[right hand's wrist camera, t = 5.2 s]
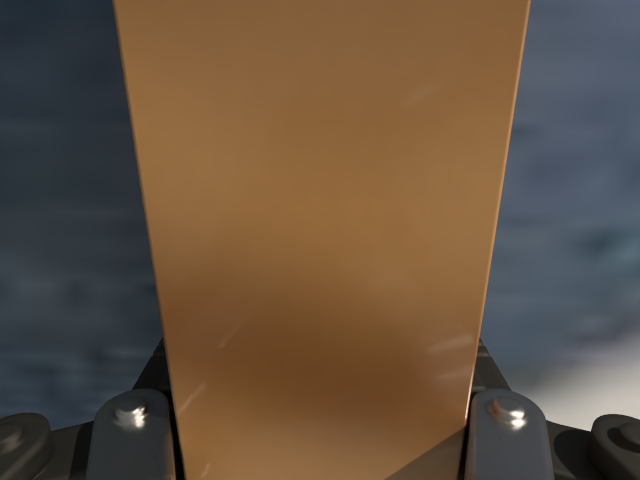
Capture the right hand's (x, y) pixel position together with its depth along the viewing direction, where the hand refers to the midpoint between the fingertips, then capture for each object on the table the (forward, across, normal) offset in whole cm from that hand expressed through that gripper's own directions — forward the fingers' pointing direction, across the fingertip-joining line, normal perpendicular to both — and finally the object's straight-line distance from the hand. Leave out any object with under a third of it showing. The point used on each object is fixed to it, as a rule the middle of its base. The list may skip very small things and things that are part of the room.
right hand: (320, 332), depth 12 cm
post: (+3, 0, -20) cm, 21 cm away
